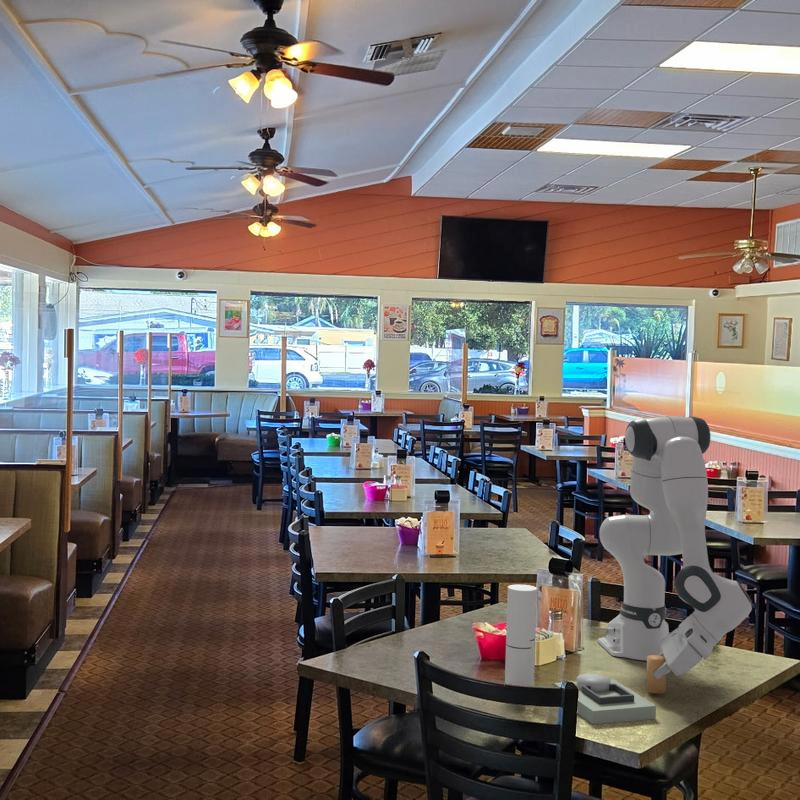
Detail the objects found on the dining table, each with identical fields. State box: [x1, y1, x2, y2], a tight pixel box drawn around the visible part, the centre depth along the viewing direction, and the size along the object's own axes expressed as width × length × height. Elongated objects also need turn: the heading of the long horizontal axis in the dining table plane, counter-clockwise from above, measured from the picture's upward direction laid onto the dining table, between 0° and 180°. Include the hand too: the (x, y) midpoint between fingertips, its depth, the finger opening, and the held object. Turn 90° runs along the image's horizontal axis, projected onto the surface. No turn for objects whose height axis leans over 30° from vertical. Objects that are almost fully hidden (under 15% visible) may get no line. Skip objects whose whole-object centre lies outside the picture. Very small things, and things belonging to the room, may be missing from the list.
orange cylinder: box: [645, 655, 667, 694], centre depth 242 cm, size 5×5×8 cm
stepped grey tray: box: [553, 673, 657, 725], centre depth 233 cm, size 20×16×5 cm
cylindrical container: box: [504, 583, 538, 687], centre depth 244 cm, size 7×7×25 cm
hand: (653, 672), depth 242 cm, fingers closed on orange cylinder, 5 cm apart
